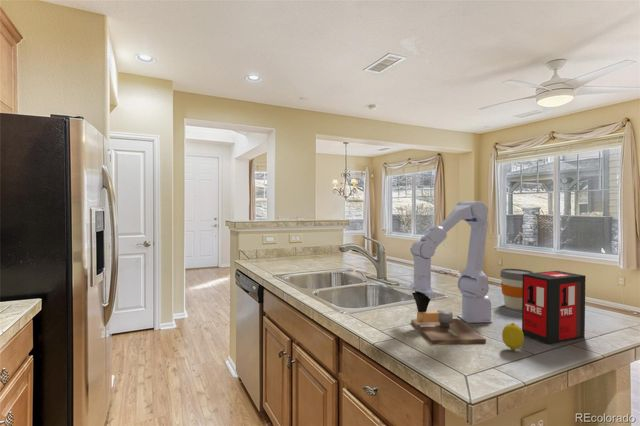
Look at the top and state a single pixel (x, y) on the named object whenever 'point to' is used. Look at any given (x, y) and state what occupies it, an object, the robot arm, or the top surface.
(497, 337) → the top surface
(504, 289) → the reusable coffee cup
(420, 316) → the orange and grey bar
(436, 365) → the top surface
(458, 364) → the top surface
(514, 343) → the lemon
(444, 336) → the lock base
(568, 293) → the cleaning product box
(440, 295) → the top surface
